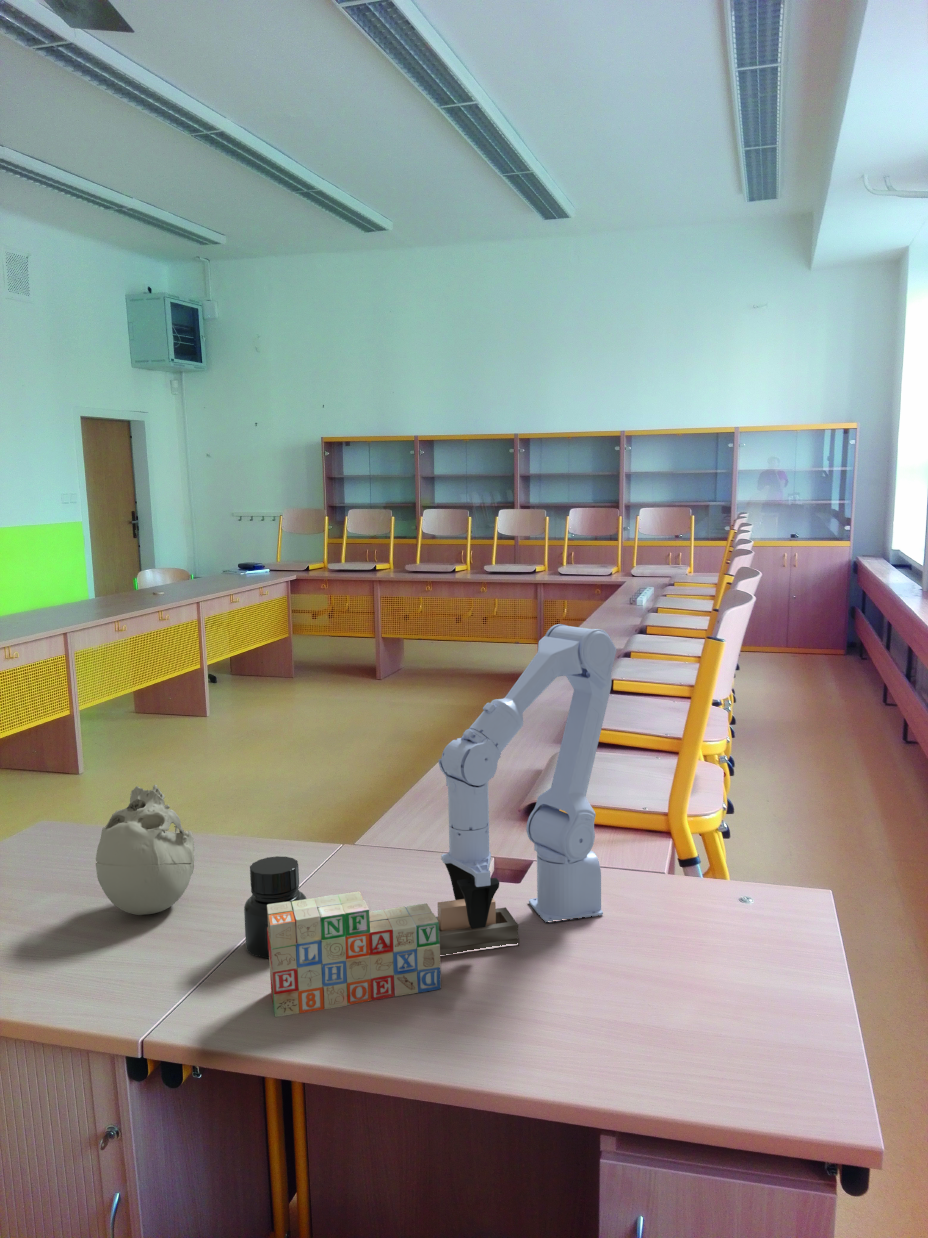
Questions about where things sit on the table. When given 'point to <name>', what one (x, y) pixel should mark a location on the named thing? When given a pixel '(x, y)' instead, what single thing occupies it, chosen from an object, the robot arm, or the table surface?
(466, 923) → the tan rectangular block
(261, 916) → the ink bottle
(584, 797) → the robot arm
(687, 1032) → the table surface
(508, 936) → the shallow rectangular tray
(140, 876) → the skull
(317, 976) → the stack of blocks
